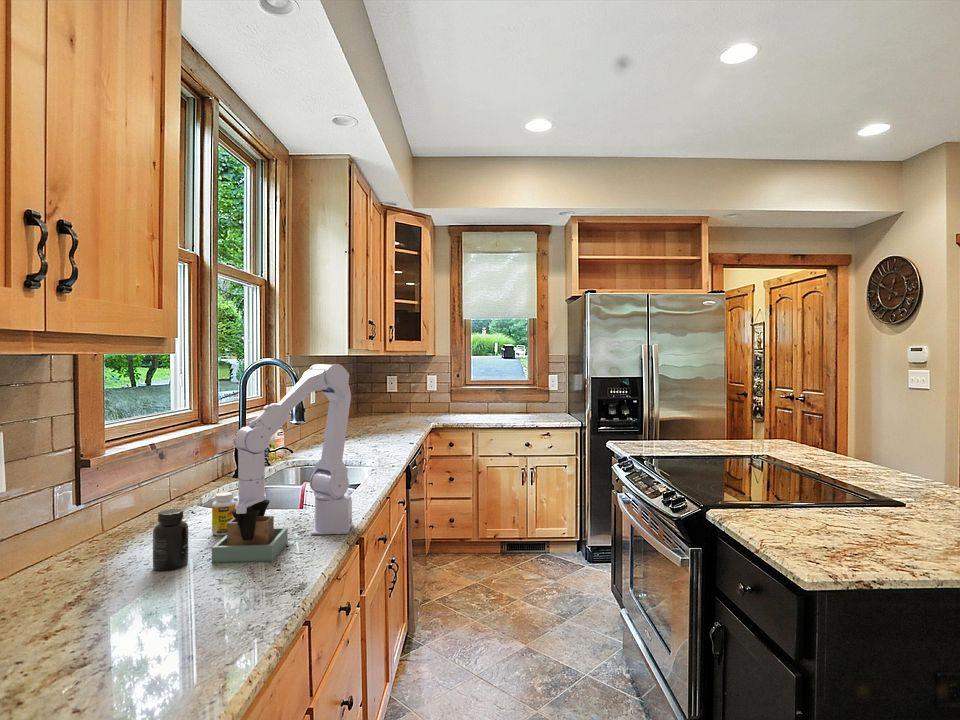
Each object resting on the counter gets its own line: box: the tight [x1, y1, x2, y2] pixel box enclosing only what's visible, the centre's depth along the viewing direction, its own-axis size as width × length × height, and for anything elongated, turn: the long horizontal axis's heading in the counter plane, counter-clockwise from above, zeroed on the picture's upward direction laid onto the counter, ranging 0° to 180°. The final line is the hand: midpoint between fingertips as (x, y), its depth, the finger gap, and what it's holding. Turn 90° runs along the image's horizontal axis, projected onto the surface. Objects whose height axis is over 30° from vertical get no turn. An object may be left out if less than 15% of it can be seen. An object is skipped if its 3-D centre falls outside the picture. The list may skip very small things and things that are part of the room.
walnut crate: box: [227, 515, 275, 546], centre depth 127 cm, size 9×5×6 cm, turn 95°
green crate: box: [211, 527, 289, 565], centre depth 127 cm, size 13×13×4 cm
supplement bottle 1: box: [152, 508, 189, 572], centre depth 119 cm, size 7×7×12 cm
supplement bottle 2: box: [211, 491, 237, 537], centre depth 141 cm, size 6×6×10 cm
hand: (251, 535), depth 127 cm, fingers closed on walnut crate, 5 cm apart
